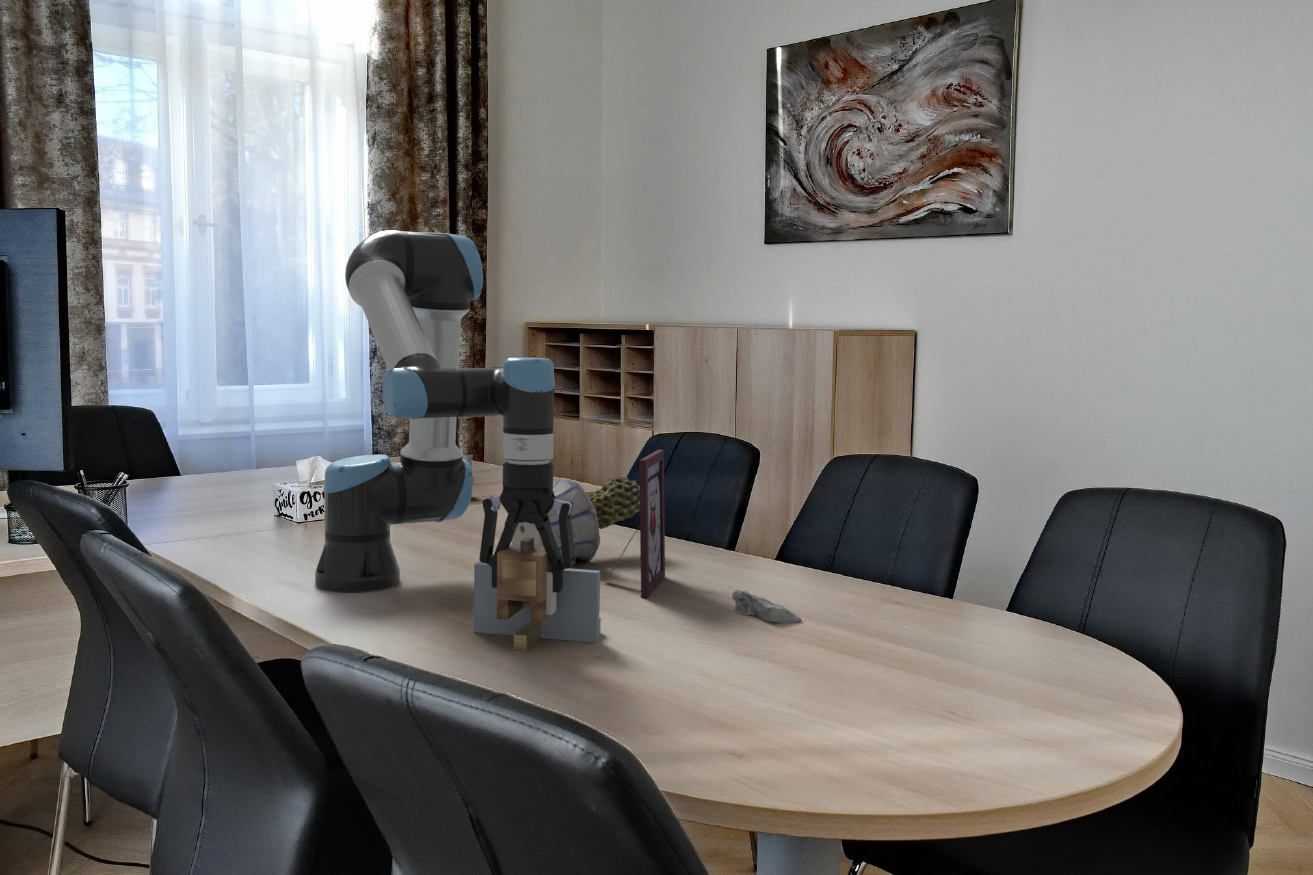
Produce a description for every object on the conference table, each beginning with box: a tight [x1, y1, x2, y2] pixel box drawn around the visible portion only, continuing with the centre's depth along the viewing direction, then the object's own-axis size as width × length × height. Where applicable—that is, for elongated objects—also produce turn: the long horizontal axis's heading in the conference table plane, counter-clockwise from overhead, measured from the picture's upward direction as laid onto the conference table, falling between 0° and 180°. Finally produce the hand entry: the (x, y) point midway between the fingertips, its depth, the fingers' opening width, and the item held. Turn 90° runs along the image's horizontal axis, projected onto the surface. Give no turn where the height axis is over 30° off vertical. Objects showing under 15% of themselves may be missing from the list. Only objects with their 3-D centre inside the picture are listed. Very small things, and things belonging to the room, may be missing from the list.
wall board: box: [473, 561, 602, 644], centre depth 169 cm, size 20×6×11 cm, turn 78°
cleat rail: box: [513, 622, 542, 652], centre depth 163 cm, size 2×7×2 cm, turn 168°
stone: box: [731, 589, 802, 624], centre depth 183 cm, size 6×12×4 cm, turn 35°
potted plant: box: [511, 476, 640, 562], centre depth 222 cm, size 18×18×30 cm
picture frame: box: [605, 449, 666, 599], centre depth 200 cm, size 17×10×25 cm, turn 168°
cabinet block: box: [497, 537, 551, 622], centre depth 162 cm, size 7×7×12 cm
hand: (526, 610), depth 162 cm, fingers closed on cabinet block, 7 cm apart
